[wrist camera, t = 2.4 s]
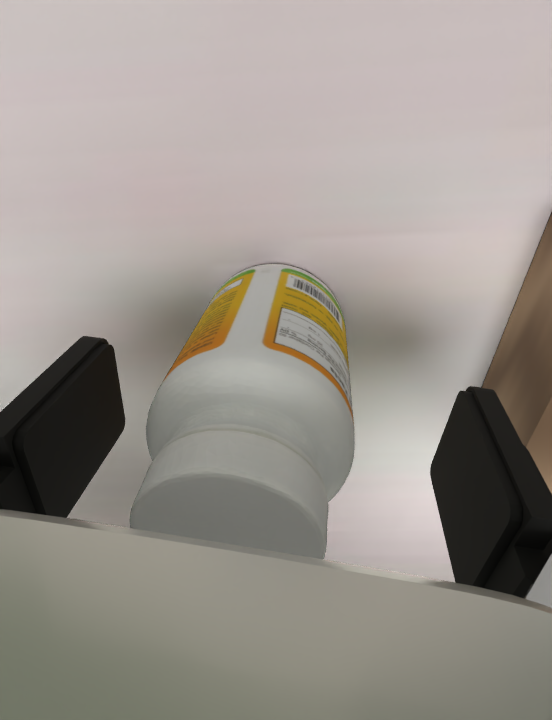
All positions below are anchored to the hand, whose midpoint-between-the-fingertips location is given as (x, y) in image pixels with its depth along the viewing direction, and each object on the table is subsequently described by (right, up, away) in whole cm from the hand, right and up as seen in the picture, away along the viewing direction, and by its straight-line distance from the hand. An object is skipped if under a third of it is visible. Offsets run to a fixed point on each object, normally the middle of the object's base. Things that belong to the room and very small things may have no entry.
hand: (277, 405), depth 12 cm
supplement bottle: (0, +3, +5) cm, 6 cm away
